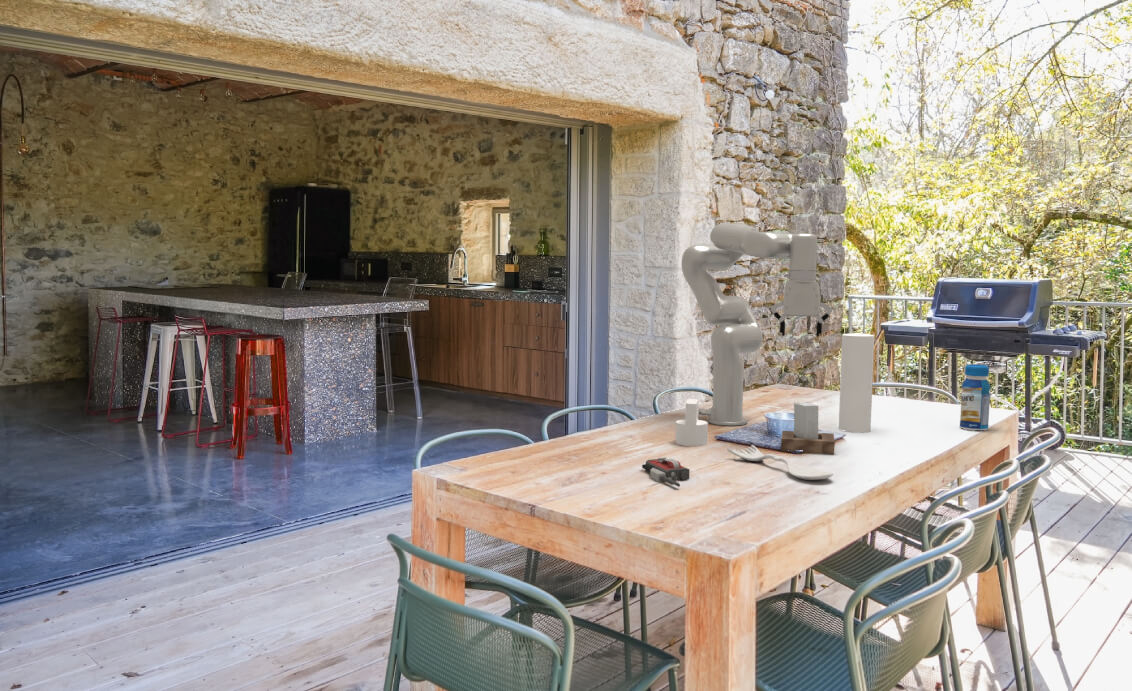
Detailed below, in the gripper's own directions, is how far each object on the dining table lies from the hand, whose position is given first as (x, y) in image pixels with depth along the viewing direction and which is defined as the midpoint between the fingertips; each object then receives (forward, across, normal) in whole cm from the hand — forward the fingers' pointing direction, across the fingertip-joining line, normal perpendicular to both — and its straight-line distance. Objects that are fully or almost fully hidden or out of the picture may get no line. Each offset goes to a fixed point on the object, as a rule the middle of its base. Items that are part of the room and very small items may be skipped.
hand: (800, 335), depth 256 cm
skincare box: (+30, +2, -13) cm, 33 cm away
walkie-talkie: (+31, -29, -58) cm, 72 cm away
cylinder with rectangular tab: (+31, -29, -15) cm, 45 cm away
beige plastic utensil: (+31, -3, -41) cm, 51 cm away
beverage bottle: (+31, +53, +33) cm, 70 cm away
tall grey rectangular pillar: (+31, +17, +20) cm, 40 cm away
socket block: (+30, +3, -13) cm, 33 cm away
